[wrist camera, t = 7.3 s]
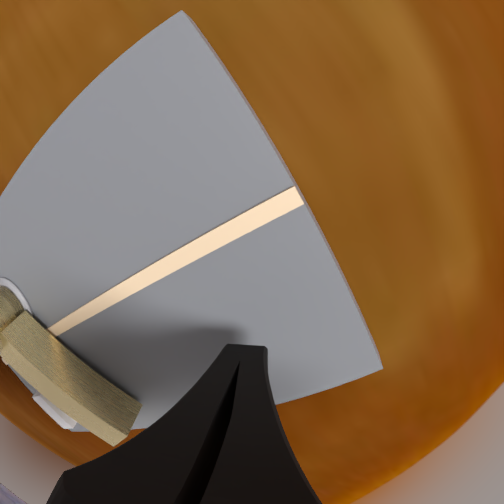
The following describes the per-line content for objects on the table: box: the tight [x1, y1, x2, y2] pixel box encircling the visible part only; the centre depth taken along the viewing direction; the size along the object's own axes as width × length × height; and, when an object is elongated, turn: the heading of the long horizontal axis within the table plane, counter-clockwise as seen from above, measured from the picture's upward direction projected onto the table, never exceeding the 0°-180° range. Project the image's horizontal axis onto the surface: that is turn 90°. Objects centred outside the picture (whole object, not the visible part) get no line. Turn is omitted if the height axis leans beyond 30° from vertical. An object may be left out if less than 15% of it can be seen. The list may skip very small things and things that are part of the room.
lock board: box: [0, 10, 383, 431], centre depth 12 cm, size 15×24×3 cm, turn 121°
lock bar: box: [0, 286, 143, 446], centre depth 12 cm, size 11×3×3 cm, turn 52°
